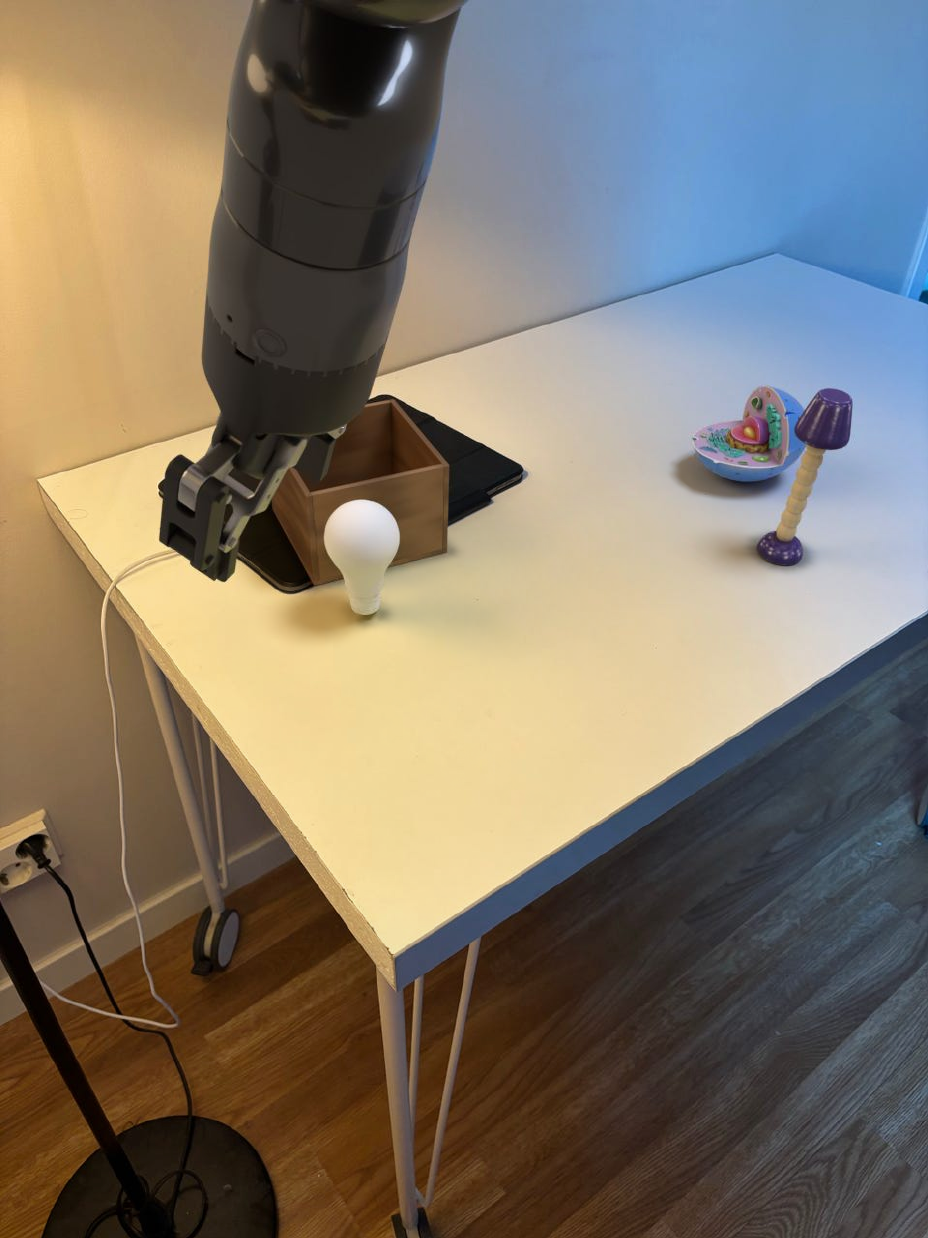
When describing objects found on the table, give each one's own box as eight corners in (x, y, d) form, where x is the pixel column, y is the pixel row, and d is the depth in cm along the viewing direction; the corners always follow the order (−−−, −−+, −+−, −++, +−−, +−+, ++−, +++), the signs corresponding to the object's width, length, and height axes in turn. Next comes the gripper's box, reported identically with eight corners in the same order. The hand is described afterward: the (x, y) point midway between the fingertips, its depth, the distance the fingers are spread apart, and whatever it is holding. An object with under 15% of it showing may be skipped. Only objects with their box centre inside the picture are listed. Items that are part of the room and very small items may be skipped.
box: (314, 586, 85) (306, 496, 79) (272, 509, 94) (262, 423, 87) (447, 552, 89) (449, 465, 83) (395, 482, 98) (393, 398, 92)
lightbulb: (368, 645, 79) (363, 538, 72) (315, 615, 82) (305, 508, 75) (415, 609, 83) (414, 503, 76) (362, 581, 86) (357, 476, 78)
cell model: (670, 455, 104) (686, 374, 98) (771, 446, 106) (793, 366, 100) (707, 506, 97) (727, 421, 90) (814, 495, 99) (841, 412, 93)
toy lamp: (797, 538, 93) (848, 380, 82) (816, 567, 89) (872, 407, 78) (750, 540, 92) (795, 382, 81) (767, 569, 89) (816, 408, 78)
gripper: (325, 169, 43) (281, 407, 56) (105, 336, 35) (116, 565, 48) (464, 261, 42) (386, 477, 56) (274, 449, 35) (237, 647, 48)
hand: (261, 518), depth 52 cm, fingers open, 8 cm apart
